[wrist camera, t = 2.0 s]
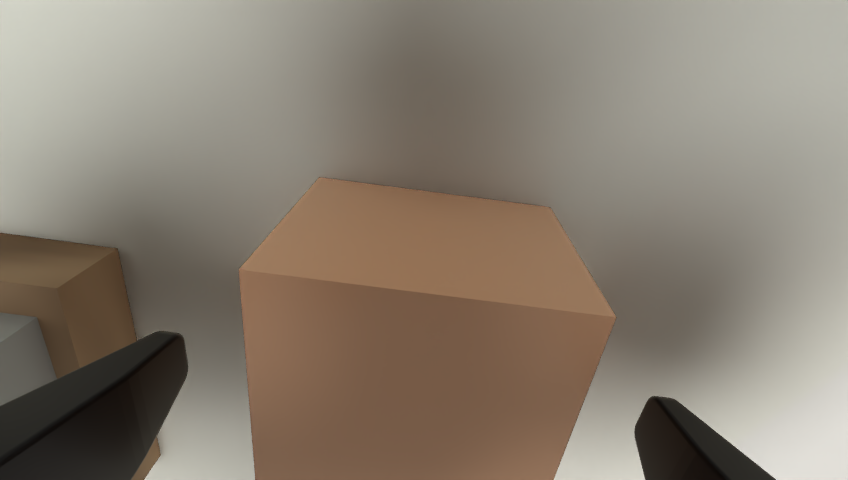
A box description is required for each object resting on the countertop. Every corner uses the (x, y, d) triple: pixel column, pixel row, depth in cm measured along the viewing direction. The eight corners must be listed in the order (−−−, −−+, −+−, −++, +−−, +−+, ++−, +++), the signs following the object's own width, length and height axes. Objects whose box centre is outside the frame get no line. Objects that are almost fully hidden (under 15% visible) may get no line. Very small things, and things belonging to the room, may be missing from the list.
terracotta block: (548, 205, 10) (616, 317, 6) (503, 378, 13) (530, 539, 9) (320, 175, 10) (238, 269, 6) (317, 354, 13) (257, 507, 9)
